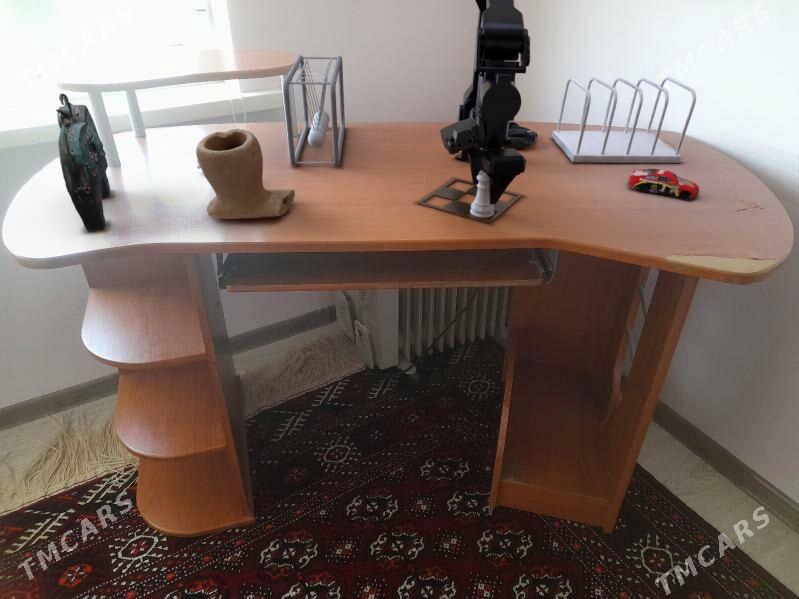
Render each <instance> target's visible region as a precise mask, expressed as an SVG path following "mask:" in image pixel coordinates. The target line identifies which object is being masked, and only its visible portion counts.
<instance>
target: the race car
mask: <svg viewBox="0 0 799 599" xmlns="http://www.w3.org/2000/svg"><path fill="white" fill-rule="evenodd" d="M627 185H628V186H629V187H631V188H633V189H635V190H638V191H639V192H640V193H645V192H649V193H655V194H661V195H666V196H672V197H677V198H678V197H679V198H680V199H681V200H685V201H686V200H688V199H689V198H690V199H693V198H696V197H697V196H698V195H699V193H700V186H699V185H698V184H697V183H696V182H694V181H692V180H689V179H686V178H683V177H680V176H678V175H677V174H676V173H674V172H673V171H670V170H667V169H661V168H644V169H635V170H633V172H632V174H631V175H629V178H628V181H627Z"/></svg>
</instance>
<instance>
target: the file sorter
mask: <svg viewBox="0 0 799 599" xmlns="http://www.w3.org/2000/svg"><path fill="white" fill-rule="evenodd" d="M593 81H595V82H596V83H598V84H600V85H602V86H604V87H605V88H607V89H609V91H610V94H609V99H608V102H607V107H606V111H605V116H604V120H603V124H602V129H601V130H585V129H586V126H587V125H586V124H587V121H588V117H589V116H588V115H589V112H590V106H591V100H592V97H591V96H592V95H591V91H590V90H591V85H592V83H593ZM619 81H620V82H622V83H623V84H625V85H627V86H628V87H631V88H632V89H634V92H633V96H632V98H631V99H632V100H631V103H630V108H629V111H628V115H627V119H626V123H625V127H624V130H611V128H612V123H613V120H614V116H615V111H616V108H617V103H618V92H617V89H616V86H617V83H618V82H619ZM667 81H669V82H672V83H673V84H675V85H677V86H679V87H680V88H683V89H684V90H687V91H688V92H690V93H691V95H692V99H691V100H692V101H691V105H690V108H689V111H688V114H687V117H686V119H685V123H684V126H683V129H682V132H681V135H680V137H679V140H678V144H677V146H676V150H675V149H673V148H672V147H671V146H670V145H668V144H667V143H666V142H665V141H663V140H662V139H660V138H659V137H660V132H661V129H662V126H663V122H664V119H665V115H666V112H667V108H668V105H669V99H670V96H669V91H668V90H667V89H666V88H665V87H664V85H665V83H666V82H667ZM571 82H573V83H574V84H575V85H576V86H577V87H579V88H580V89H582V90H583V91H584V92H585V96H584V97H585V98H584V102H583V108H582V114H581V119H580V125H579V130H560V128H561V124H562V119H563V115H564V110H565V106H566V99H567V96H568V91H569V90H568V89H569V86H570V83H571ZM642 82H645V83H646V84H648V85H650V86H652V87H654V88H656V89H658V92H657V95H656V99H655V102H654V104H653V109H652V112H651V115H650V119H649V122H648V125H647V129H646V131H641V130H639V131H637V130H636V128H637V125H638V121H639V117H640V114H641V110H642V106H643V102H644V92H643V89H642V88H641V87H640V84H642ZM662 92H663V93H664V105H663V108H662V111H661V115H660V119H659V122H658V126H657V130H656V133H655V134H654V133H653V132H652V131H651V127H652V124H653V121H654V118H655V114H656V111H657V107H658V104H659V101H660V97H661V94H662ZM637 93H638V94H639V102H638V106H637V108H636V109H637V110H636V113H635V117H634V120H633V125H632V127H631V128H632V129H631V130H629V131H628V129H629V125H630V121H631V117H632V114H633V110H634V106H635V102H636V98H637V95H638V94H637ZM612 102H613V105H612ZM696 102H697V92H696V91H695V89H694V88H692V87H690V86H689V85H687V84H684V83H682V82H680V81H678V80H676V79H675V78H673V77H670V76H667V77H665V78H663V79H662V81H661V83H660V84H658V83H655V82H653V81H652V80H650V79H648V78H646V77H642V78H639V79H638V81H637V83H636V84H634V83H632V82H631V81H629V80H627V79H625V78H623V77H620V76H619V77H617V78H615V79H614V81H613V83H612V85H610V84H609V83H607V82H605V81H604V80H602V79H600V78H598V77H596V76H592V77H591V78H590V79H589V81H588V83H587V86H585V85H584V84H582V83H581V82H580V81H579V80H577V79H576V78H575V77H569V78H567V80H566V84H565V87H564V93H563V98H562V101H561V106H560V112H559V117H558V122H557V126H556V130H552V134H551V138H552V139H553V140H554V141H555V143H556V144H557V145H558V146H559V148H561V150H562V151H563V153H564V154H565V155H566V156H567V158H569V160H570V161H571V162H572V163H606V164H607V163H608V164H609V163H613V164H614V163H615V164H616V163H617V164H619V163H621V164H624V163H626V164H627V163H628V164H630V163H631V164H679V163H681V161H682V158H683V155H682V154H680V150H681V147H682V144H683V142H684V139H685V136H686V132H687V130H688V127H689V125H690V124H689V123H690V121H691V118H692V115H693V112H694V110H695V105H696V104H697V103H696ZM611 106H612V107H611ZM610 111H611V112H610ZM609 113H610V115H609ZM608 117H609V121H608ZM607 121H608V123H607Z"/></svg>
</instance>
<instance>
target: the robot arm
mask: <svg viewBox="0 0 799 599" xmlns="http://www.w3.org/2000/svg"><path fill="white" fill-rule="evenodd" d="M474 1H475V3H476V6H477V9H478V14H477V23H476V24H477V25H476V29H475V30H476V31H475V40H474V42H475V43H474V54H473V55H474V57H473V68H472V77H471V83H470V85H469V86H468V88H466V90H465V92H464V93H463V94H462V95H463V97H462V104H459V107H458V112H457V113H458V115H457V121H456V122H454V123H451V124H450V125H447V126H444V127H442V128H441V129H440V130H439V134H440V137H441V141H442V143H443V148H444V149H445V150H446V151H447V153H448V154H449V155H453V156H455V157H454V159H456V160H459V161H463V162H468V163H469V169H470V174H471V175H470V176H471V180H472V181H471V182H472V183H473V184H478V183H479V181H478V180H477V176H478V175H479V172H480V171H483V173H484V172H485V174H486V175H487V176H488V178H489V203H490V204H491V205H493V204H496V203H497V202H498V201H500V199H501V197H502V196H503V194H505V193H504V191H507V188H508V187H509V186H510V184H511V183H513V181H514V180H515V178H516V177H517V176H520V175H521V174H524V173H525V172H526V168H527V167H526V166H527V159H526V158H525V157H524V156H523V155H522V154H521V153H520V152H519V151H518V149H514V148H504V147H503V146H507V145H511V139H510V138H509V137H508V136H507V135H508V127H509V122H515V117H516V116H517V115H518V114H519V112H520V110H521V107H522V95H521V93H520V91H519V89H518V87H517V84H516V74H527V67H529V66H530V63H531V36H530V35H529V30H528V28H525V20H524V14H523V13H522V12H521V11H520V10H519V9H518V8H516V7H515V0H474ZM519 59H520V60H519Z"/></svg>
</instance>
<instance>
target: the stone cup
mask: <svg viewBox="0 0 799 599" xmlns="http://www.w3.org/2000/svg"><path fill="white" fill-rule="evenodd" d="M195 155H196V158H197V161H198V162H199V164H200V167H201V168H200V169H201V171H202V174H203V176H204V177H205V179H206V180H207V182H208V183H209V185H210V187H211V188H212V190H213V192H214V194H215V196H214V197H213V198H212V199H211V200H210V201H209V202H208V204H207V206H206V212H207V214H208V216H209V217H210V218H213V219H223V220H238V219H239V220H240V219H259V218H273V217H275V218H276V217H279V216H283V215H285V214H286V213H287V212H288V210H289V209H290V207H291V206H292V203H293V202H294V198H295V195H296V192H295V189H293V188H292V189H291V188H290V189H266V188H265V187H264V183H263V173H264V158H263V151H262V147H261V144H260V142H259V140H258V138H257V137H256V136H255V134H254V133H252V132H251V131H250V130H247V129H244V128H243V129H242V128H233V129H232V128H231V129H229V130H226V131H216V132H212V133H210V134H208V135H206V136H204V137H203V138H202V139H201V140H200V141H199V142H198V144H197V146H196V150H195Z"/></svg>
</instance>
